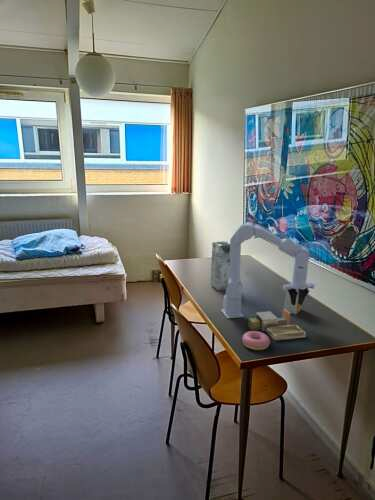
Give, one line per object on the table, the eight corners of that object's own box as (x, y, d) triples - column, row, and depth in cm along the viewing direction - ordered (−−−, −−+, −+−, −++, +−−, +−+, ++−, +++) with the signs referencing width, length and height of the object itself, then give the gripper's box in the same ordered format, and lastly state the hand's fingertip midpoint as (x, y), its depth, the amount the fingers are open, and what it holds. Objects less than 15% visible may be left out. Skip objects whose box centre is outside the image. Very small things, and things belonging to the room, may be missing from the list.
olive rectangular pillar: (251, 330, 156) (252, 322, 155) (248, 326, 160) (248, 318, 159) (270, 328, 158) (271, 320, 157) (267, 325, 162) (267, 317, 161)
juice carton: (217, 291, 199) (220, 243, 192) (208, 285, 208) (210, 239, 201) (231, 289, 202) (234, 242, 196) (222, 283, 212) (224, 238, 205)
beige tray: (266, 332, 155) (267, 327, 154) (296, 329, 158) (296, 324, 158) (274, 340, 148) (275, 335, 147) (305, 337, 152) (305, 331, 151)
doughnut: (265, 338, 150) (266, 328, 149) (272, 352, 140) (273, 342, 138) (239, 337, 150) (240, 328, 149) (244, 352, 139) (245, 342, 138)
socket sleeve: (254, 323, 163) (255, 312, 161) (269, 322, 164) (270, 311, 163) (262, 331, 155) (263, 319, 154) (277, 329, 157) (278, 318, 156)
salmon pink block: (267, 323, 163) (268, 310, 161) (283, 321, 165) (284, 308, 163) (272, 328, 158) (273, 314, 156) (289, 326, 160) (290, 313, 158)
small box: (296, 314, 173) (299, 289, 169) (283, 311, 176) (286, 286, 173) (302, 309, 179) (304, 284, 176) (289, 306, 183) (292, 281, 179)
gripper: (289, 279, 152) (286, 309, 155) (320, 277, 156) (316, 306, 159) (281, 273, 159) (278, 302, 162) (310, 272, 162) (307, 300, 166)
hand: (296, 304), depth 161 cm, fingers open, 3 cm apart
